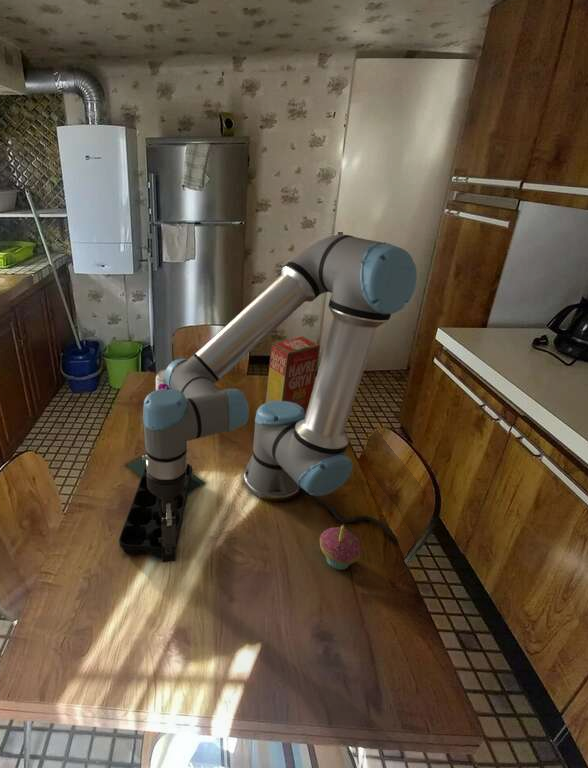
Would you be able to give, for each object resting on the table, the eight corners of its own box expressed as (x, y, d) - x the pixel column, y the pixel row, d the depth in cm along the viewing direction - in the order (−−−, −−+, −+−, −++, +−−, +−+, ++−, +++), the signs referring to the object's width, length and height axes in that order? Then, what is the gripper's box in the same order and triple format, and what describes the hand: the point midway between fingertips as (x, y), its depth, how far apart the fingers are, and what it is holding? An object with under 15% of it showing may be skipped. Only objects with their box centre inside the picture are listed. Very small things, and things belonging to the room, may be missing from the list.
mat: (204, 482, 115) (204, 482, 115) (173, 502, 109) (173, 502, 108) (157, 449, 128) (157, 448, 128) (126, 465, 122) (126, 464, 121)
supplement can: (178, 421, 142) (177, 380, 136) (153, 418, 144) (152, 377, 137) (183, 408, 149) (183, 369, 143) (160, 406, 151) (159, 367, 144)
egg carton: (118, 565, 92) (117, 552, 90) (127, 472, 119) (126, 461, 117) (201, 559, 93) (201, 547, 91) (191, 468, 120) (191, 458, 118)
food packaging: (280, 422, 142) (288, 352, 132) (263, 409, 150) (269, 342, 139) (311, 412, 148) (321, 344, 137) (293, 400, 156) (301, 335, 145)
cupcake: (351, 584, 88) (362, 541, 83) (311, 565, 92) (318, 523, 87) (362, 554, 95) (372, 513, 90) (323, 538, 99) (331, 497, 94)
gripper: (145, 449, 86) (149, 536, 97) (146, 494, 75) (151, 588, 85) (183, 446, 87) (183, 533, 97) (190, 491, 76) (189, 584, 86)
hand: (168, 558), depth 91 cm, fingers closed
